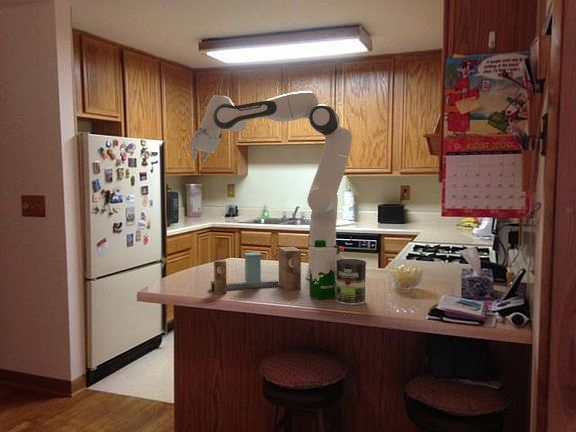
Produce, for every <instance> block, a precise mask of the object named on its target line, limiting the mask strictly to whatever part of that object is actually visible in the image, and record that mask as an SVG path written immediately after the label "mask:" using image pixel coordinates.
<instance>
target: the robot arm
mask: <svg viewBox="0 0 576 432" xmlns="http://www.w3.org/2000/svg"><path fill="white" fill-rule="evenodd" d="M254 119H267V120H268V119H269V120H271V121H275V122H283V123H284V122H291V121H297V120H300V119H308V120H309V124H310V126H311V127H312V129H314V130H315V131H316V132H317V133H320V134H321V135H323V136H324V146H323V148H322V151H321V156H320V160H319V163H318V166H317V171H316V173H315V174H314V178H313V181H312V182H311V186H310V189H309V191H308V195H307V200H306V201H307V204H308V207H309V208H310V210H311V215H310V222H309V244H308V249H307V250H308V251H307V252H308V253H307V255H308V265H307V270H306V271H307V272H306V275H305V279H306V280H309V281H310V254H309V247H310V246H315V241H316V240H324V241H326V245H328V246H331V247H334V248H337V253H336V259H335V283H336V272H337V264H336V261H337V260H340V259H347V258H346V257H345V256H343V255H342V254H341V252H344V246H341V245H340V246H339V245H337V242H336V241H337V216H338V202H339V198H338V191H339V189H340V185H341V183H342V180H343V178H344V175H345V171H346V168H347V164H348V160H349V156H350V153H351V149H352V144H353V143H352V142H353V135H352V132H351V131H350V130H349V129H347V128H345V127H342V126H340V117H339V116H338V113H337V111H336V110H335V109H334V108H333V107H331V106H330V105H327V104H319V100H318V97H317V95H316V93H314V92H313V91H310V90H309V91H308V90H305V91H295V92H290V93H286V94H281V95H279V96H275V97H273V98H269V99H265V100H261V101H255V102H249V103H245V104H240V105H235V104H234V103H233V102H232V99H231V98H230V97H229V96H225V95H223V94H214V95H212V97H210V100H209V102H208V104H207V106H206V109H205V114H204V116H203V118H202V119H201V122H200V124H199V127H198V129H197V130H196V131H194V133H193V135H192V137H191V139H190V141H189V147H190V148H191V157H190V158H191V160H193V161H196V160H197V158H198V153H199V151H201V152H203V154H202V156H201V157H200V162H204V163H205V162H206V160H207V158H208V157H209V155H210V154H212V155H213V154H215V152H216V150H217V149H218V146H219V144H220V142H221V141H220V140H222V138H223V134H222V131H221V129H222V130H227V131H229V132H233V133H237V132H238V133H239V132H242V131H243V130H244V129H245V128H246V125H247V121H248V120H254Z"/></svg>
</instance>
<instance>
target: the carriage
mask: <svg viewBox="0 0 576 432" xmlns="http://www.w3.org/2000/svg"><path fill="white" fill-rule="evenodd" d="M243 256H244V266H245V267H244V268H245V269H244V272H245V273H244V277H245V278H244V282H247V283H261V281H262V278H261V275H262V274H261V273H262V272H261V271H262V269H261V267H262V265H261V264H262V263H261V262H262V261H261V258H262V257H263V253H261V252H259V251H256V252H254V251H253V252H251V251H250V252H243Z"/></svg>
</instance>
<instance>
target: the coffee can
mask: <svg viewBox="0 0 576 432" xmlns="http://www.w3.org/2000/svg"><path fill="white" fill-rule="evenodd" d="M336 264H337V272H336V282H335V291H336V298H335V302H336V303H338V304H340V305H346V306H358V305H359V306H360V305H364V304H365V303H366V279H367V278H366V274H367V273H366V271H367V262H366V261H365V260H363V259H357V258H356V259H355V258H346V259H340V260H337V261H336Z"/></svg>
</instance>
